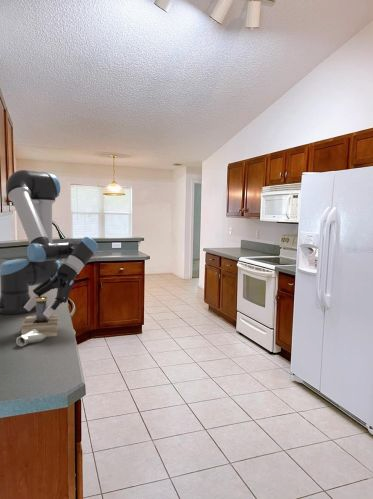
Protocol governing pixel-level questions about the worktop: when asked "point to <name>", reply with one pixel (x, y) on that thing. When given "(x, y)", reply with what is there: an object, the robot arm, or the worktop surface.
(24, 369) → the worktop surface
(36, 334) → the pipe fitting
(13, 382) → the worktop surface
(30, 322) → the socket block
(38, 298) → the gold-capped peg
